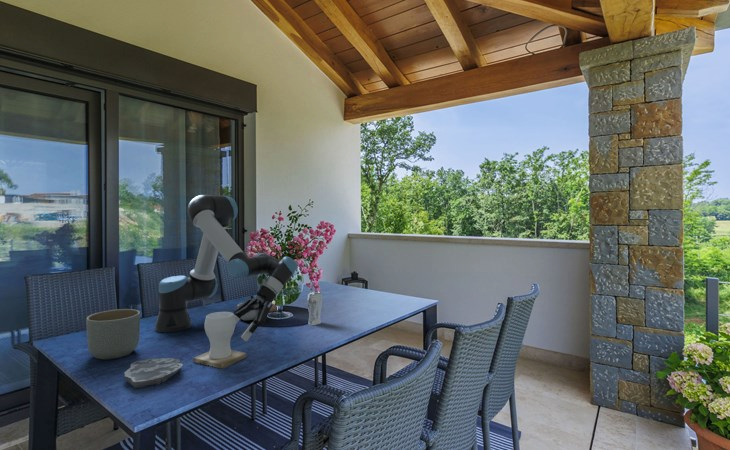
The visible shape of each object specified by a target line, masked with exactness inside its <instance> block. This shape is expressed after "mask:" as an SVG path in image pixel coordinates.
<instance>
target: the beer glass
mask: <svg viewBox="0 0 730 450" xmlns="http://www.w3.org/2000/svg"><path fill="white" fill-rule="evenodd" d="M322 295H323V294H322V292H320V291H310V292H308V293H307V309H308V310H307V311H308V316H309V317H308V325H310V326H318V325H321V324H322V321H321V312H322V311H321V310H322V306H323V305H322V304H323V298H322V297H323V296H322Z"/></svg>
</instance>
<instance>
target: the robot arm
mask: <svg viewBox="0 0 730 450" xmlns="http://www.w3.org/2000/svg"><path fill="white" fill-rule="evenodd" d="M238 210H239V209H238V204H237V202H236V201H235V199H234V198H232V196H228V195H223V194H221V195H219V194H217V195H215V194H213V195H212V194H211V195H210V194H200V195H196V196H195V197H194V198H192V199H191V200H190V202H189V203H188V206H187V216H188V218H189V220H190V222H191V223H192V225H194V227H196V228H199V229H200V230H201V232H202V233H203V234H202V238H201V241H200V246H199V249H198V254H197V258H196V260H195V261H196V262H195V265H194V268H193V269H192V270H190V272H189V276H188V277H187V276H186V275H176V276H175V275H174V276H173V275H172V276H169V277H165V278H163V279H162V280H160V281H159V284H158V305H159V306H158V309H159V310H158V315H157V318H156V322H155V324H154V330H155V331H156V332H158V333H176V332H182V331H185V330H189V329H190V328H191V327H192V320H191V317H190V314H189V310H188V303H192V302H195V301H199V300H206V299H208V298H212V297H214V295H215V294H216V292H217V291H218V289H219V287H218V286H219V284H218V279H217V277H216V274H215V273H214V269H215V266H216V262H217V258H218V255H219V254H220V255H221V257H222V258H223V260H224V261H226V263H227V266H226V271H227V272H228V273H227V274H228V275H229V277H230V278H231V279H243V278H248V277H253V276H257V275H259V276H260V275H262V274H263V275H264V274H265V275H268V276H267V278H266V279H265V280H264V281H263V282H262V285H260V286H259V288H258V289H257V291H256V292H255V293H256V296H255V297H254V295H250V296H249V297H248V298H247V300H244V302H242V303H243V304H241V305H240V306H239V307H238V306H237V307H236V308H235V309H234V310H233V311H232V313H233V314H234V317H235V326H236V325H237V323H239V321H240V320H241V316H243V315H245V314H246V313H248V312H250V311H251V310H256V315H255V319H253V321H252V322H251V323H250V324H249V325H248V327H247V328H246V330H245V331H244V332H243V333H242V334H241V335H240V338H241V339H243V340H244V341H245V342H248V340H249V339H250V338H251V336H252V335H253V334H254V332H255V331H256V330H257V329H258V327H260V326H261V327H263V326H264V325H265V324H266V321H267V318H268V315H269V313H270V312H269V311H270V309H271V307H272V305H273V304H272V301H273V300H274V299H276V297H277V295H279V294H280V292H281V291H282V289H283V288H284V287H285V285H286V284H287V283H288V282H289V281H290V279H291V278H292V277H293V276H294V274H295V272H296V271H297V269H298V268H299V266H298V263H297V262H296V261H295V260H294V259H293V258H291V257H290V256H287V255H286V256H285V255H284V256H283V257H282V259H280V258H279V259H278V258H276V257H274V256H272V255H270V254H267V253H263V252H258V253H257V254H255V255H254V256H253V257H251V256H250V257H249V256H248V255H246V253H245V252H244V250H243V249H241V247H240V246H239V245H238V244H237V243H236V241H235V240H234V239H233V238H232V237H231V235H230V234H229V233H228V232H227V230H226V228H227V229H228V227H229V225H230V223H231V221H234V220H236V218H237V216H238Z"/></svg>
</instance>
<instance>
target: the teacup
mask: <svg viewBox="0 0 730 450" xmlns="http://www.w3.org/2000/svg"><path fill="white" fill-rule="evenodd" d="M243 303H244V302H240V303H238V304H237V308H238V307H239V306H240V305H241V304H243ZM255 315H256V310H251V311H250V312H248V313H246V314H245V315H243V316H241V318H240V320H242V321H252V320H253V321H254V319H255Z"/></svg>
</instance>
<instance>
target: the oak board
mask: <svg viewBox="0 0 730 450" xmlns="http://www.w3.org/2000/svg"><path fill="white" fill-rule="evenodd" d="M209 352H210V350H208V351H206V352H204V353H201V354H199V355H197V356H194V357H193V359H192V360H193V361H192V362H193V363H197V364H200V363H201V365H204V366H208V365H209V366H208V367H212V366H213V367H214V368H217V369H221V370H223V369H225V368H228V367H229V366H231V365H234V364H235V363H238V362H240V361H242V360H243V359H246V358H247V355H248V354H247V352H244V351H243V352H242V351H238V350H234V349H231V355H230V356H229V357H226V358H222V359H212V358H210V357H209ZM213 367H212V368H213Z"/></svg>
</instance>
